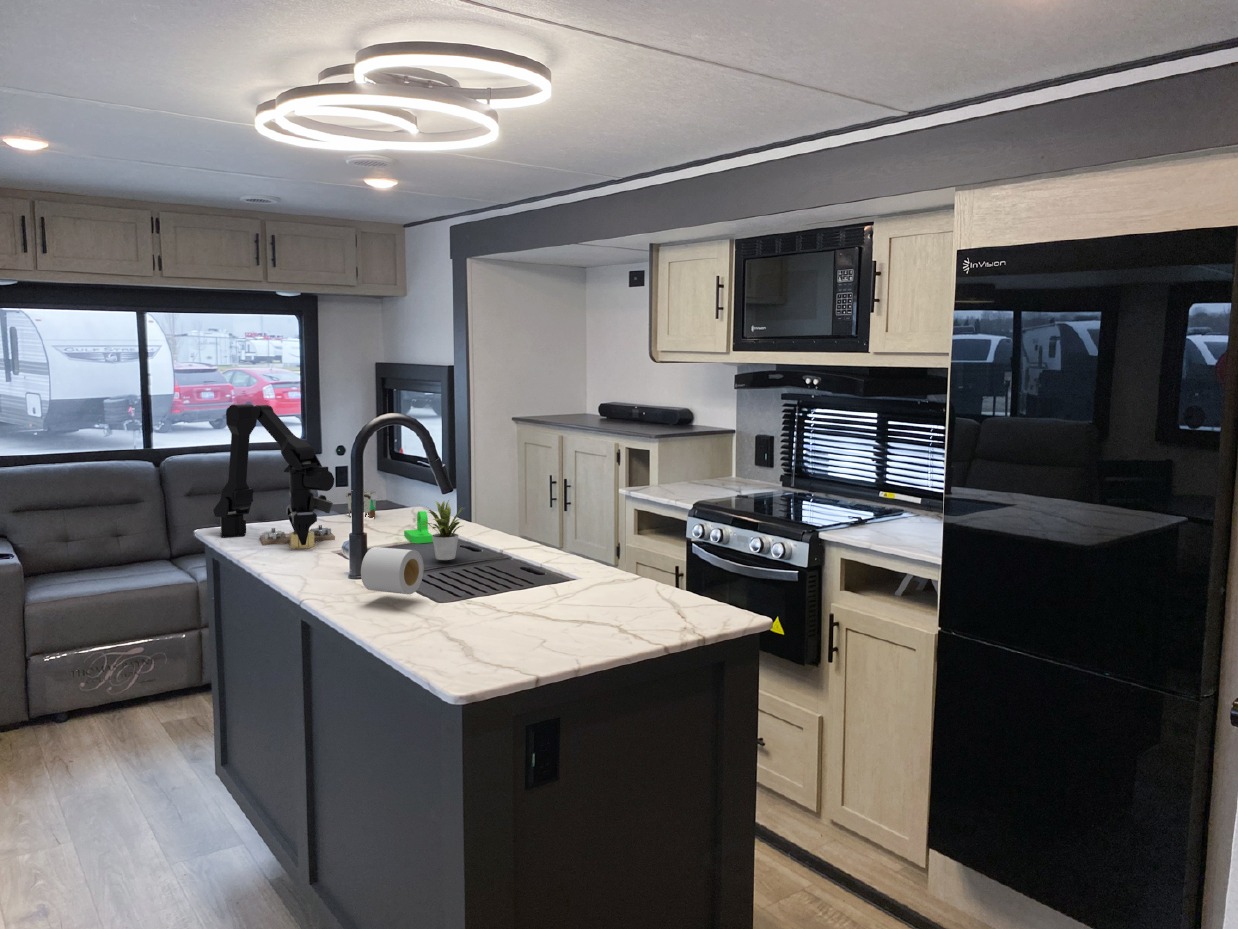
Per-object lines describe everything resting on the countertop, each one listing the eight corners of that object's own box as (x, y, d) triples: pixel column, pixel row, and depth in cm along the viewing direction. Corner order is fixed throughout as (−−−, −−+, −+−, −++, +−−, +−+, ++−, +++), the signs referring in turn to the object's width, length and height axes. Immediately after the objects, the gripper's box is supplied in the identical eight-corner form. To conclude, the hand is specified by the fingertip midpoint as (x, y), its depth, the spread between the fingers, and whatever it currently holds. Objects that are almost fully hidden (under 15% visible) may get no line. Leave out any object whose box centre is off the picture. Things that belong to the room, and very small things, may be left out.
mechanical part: (404, 536, 277) (403, 510, 277) (423, 535, 280) (423, 509, 279) (412, 543, 267) (412, 516, 266) (433, 542, 269) (432, 515, 268)
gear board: (262, 545, 261) (262, 528, 260) (259, 539, 270) (259, 522, 269) (335, 540, 270) (334, 523, 269) (329, 534, 279) (329, 518, 278)
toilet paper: (423, 589, 212) (423, 546, 211) (399, 599, 202) (398, 554, 201) (386, 585, 215) (386, 543, 214) (361, 594, 206) (360, 551, 205)
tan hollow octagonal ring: (291, 549, 256) (291, 535, 255) (289, 545, 261) (288, 531, 261) (315, 547, 258) (315, 533, 258) (312, 543, 264) (311, 530, 264)
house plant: (406, 555, 248) (405, 496, 246) (452, 550, 256) (452, 492, 255) (429, 565, 237) (428, 503, 235) (476, 558, 245) (476, 498, 243)
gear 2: (311, 536, 269) (311, 527, 268) (308, 533, 274) (308, 524, 274) (332, 535, 271) (332, 526, 271) (329, 531, 277) (329, 523, 276)
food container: (386, 521, 303) (385, 491, 302) (372, 524, 298) (371, 493, 297) (360, 518, 310) (360, 489, 309) (346, 520, 305) (345, 490, 304)
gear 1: (263, 540, 263) (263, 530, 262) (261, 536, 268) (261, 527, 268) (285, 538, 265) (285, 529, 265) (283, 535, 271) (283, 526, 270)
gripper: (335, 491, 253) (336, 546, 255) (325, 483, 270) (326, 535, 272) (293, 493, 249) (294, 549, 250) (285, 485, 265) (286, 538, 267)
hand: (302, 542), depth 260 cm, fingers closed on tan hollow octagonal ring, 6 cm apart
